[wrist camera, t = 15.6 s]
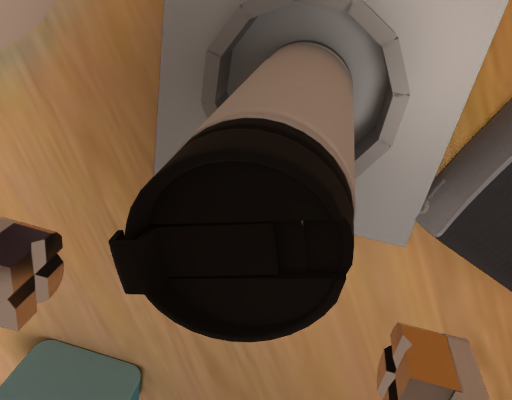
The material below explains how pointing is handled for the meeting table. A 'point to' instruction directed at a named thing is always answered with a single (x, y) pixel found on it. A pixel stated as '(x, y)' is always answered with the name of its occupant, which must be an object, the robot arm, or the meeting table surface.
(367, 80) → the mug holder
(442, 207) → the external hard drive
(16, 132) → the meeting table surface
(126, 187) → the meeting table surface
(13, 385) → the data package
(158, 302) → the travel mug
